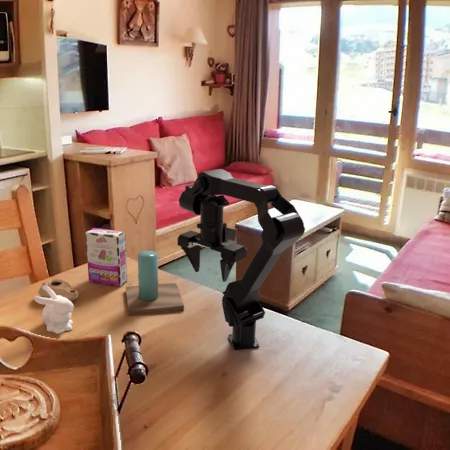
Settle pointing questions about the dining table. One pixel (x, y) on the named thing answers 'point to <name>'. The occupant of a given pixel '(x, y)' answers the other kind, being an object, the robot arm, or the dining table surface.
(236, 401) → the dining table surface
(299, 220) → the robot arm
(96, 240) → the candy bar box
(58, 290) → the pottery oil lamp
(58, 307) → the rabbit
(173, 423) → the dining table surface
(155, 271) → the teal cup
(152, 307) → the walnut board
